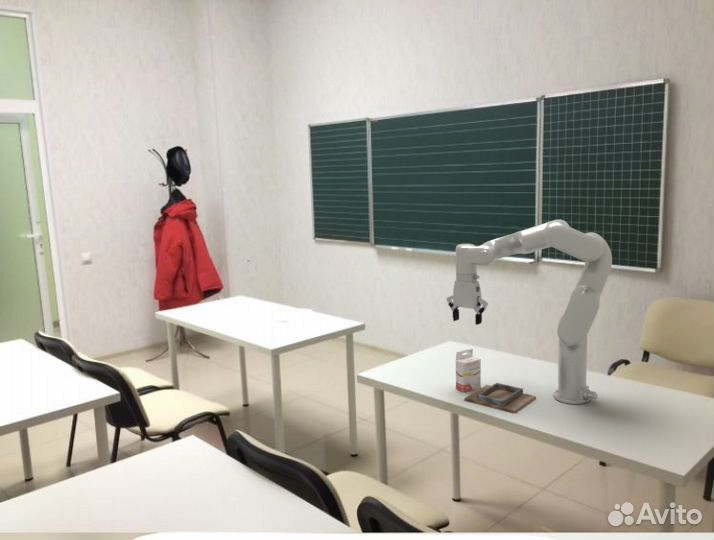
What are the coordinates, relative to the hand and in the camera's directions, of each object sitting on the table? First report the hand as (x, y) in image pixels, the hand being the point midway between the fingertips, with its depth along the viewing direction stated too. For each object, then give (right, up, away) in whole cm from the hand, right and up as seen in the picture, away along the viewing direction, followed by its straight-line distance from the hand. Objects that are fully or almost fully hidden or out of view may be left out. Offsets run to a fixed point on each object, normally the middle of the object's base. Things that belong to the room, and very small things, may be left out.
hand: (467, 322), depth 229 cm
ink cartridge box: (+1, -26, +4) cm, 26 cm away
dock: (+11, -27, -8) cm, 30 cm away
